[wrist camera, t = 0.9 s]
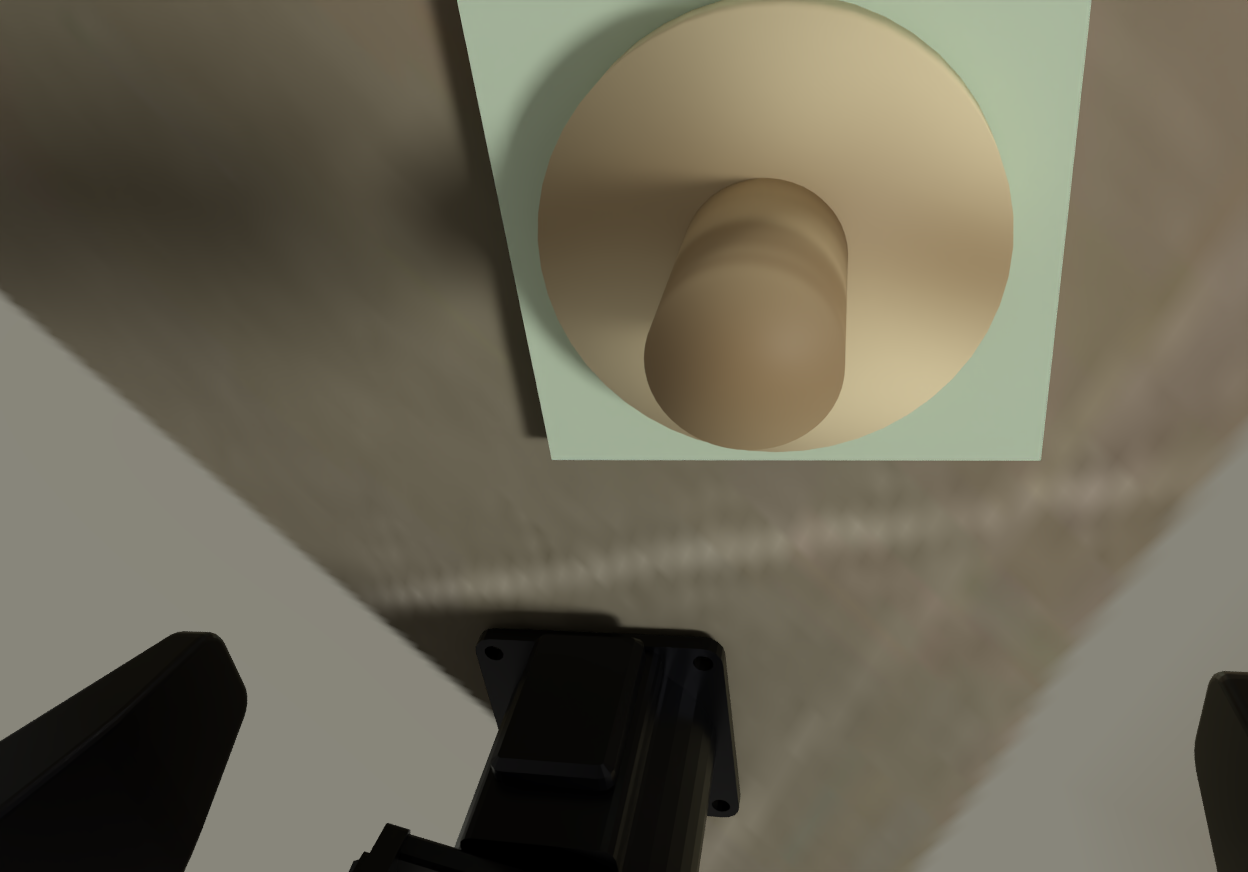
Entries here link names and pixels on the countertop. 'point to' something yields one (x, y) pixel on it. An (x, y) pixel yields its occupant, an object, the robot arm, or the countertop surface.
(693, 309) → the lid
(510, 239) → the mat
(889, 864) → the countertop surface
